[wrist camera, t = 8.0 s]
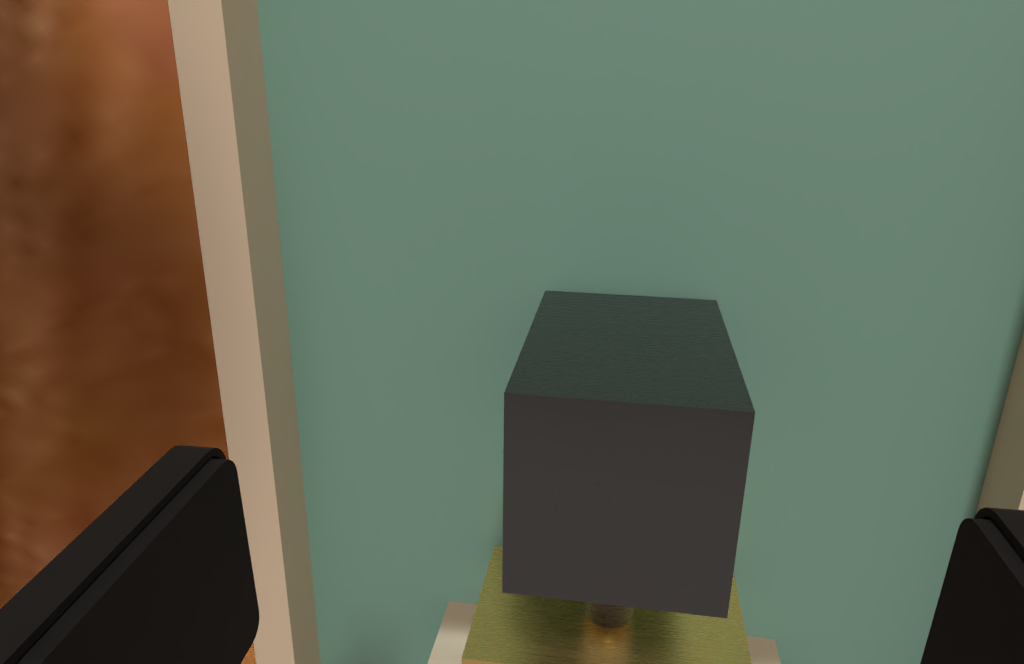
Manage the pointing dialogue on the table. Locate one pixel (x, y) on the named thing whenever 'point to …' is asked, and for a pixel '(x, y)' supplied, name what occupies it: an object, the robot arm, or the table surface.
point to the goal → (460, 616)
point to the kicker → (619, 489)
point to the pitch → (608, 282)
